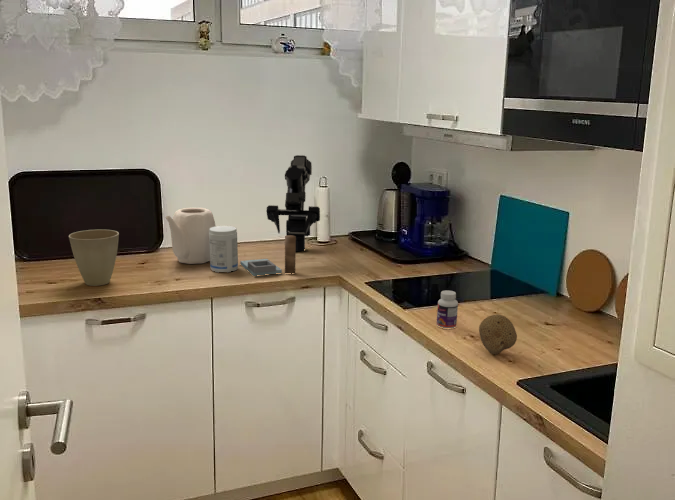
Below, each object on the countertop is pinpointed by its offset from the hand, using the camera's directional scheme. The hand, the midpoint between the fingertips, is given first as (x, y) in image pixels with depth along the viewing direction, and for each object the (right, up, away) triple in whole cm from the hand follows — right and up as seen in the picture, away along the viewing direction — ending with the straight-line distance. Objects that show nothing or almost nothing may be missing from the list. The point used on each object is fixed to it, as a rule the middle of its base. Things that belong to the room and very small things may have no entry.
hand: (291, 233), depth 238 cm
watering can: (-37, -10, +8) cm, 39 cm away
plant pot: (-61, -16, -19) cm, 66 cm away
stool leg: (0, -14, -3) cm, 14 cm away
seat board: (-11, -13, 0) cm, 17 cm away
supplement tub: (-24, -13, -1) cm, 27 cm away
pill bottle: (+46, -27, -51) cm, 74 cm away
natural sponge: (+55, -32, -70) cm, 94 cm away
